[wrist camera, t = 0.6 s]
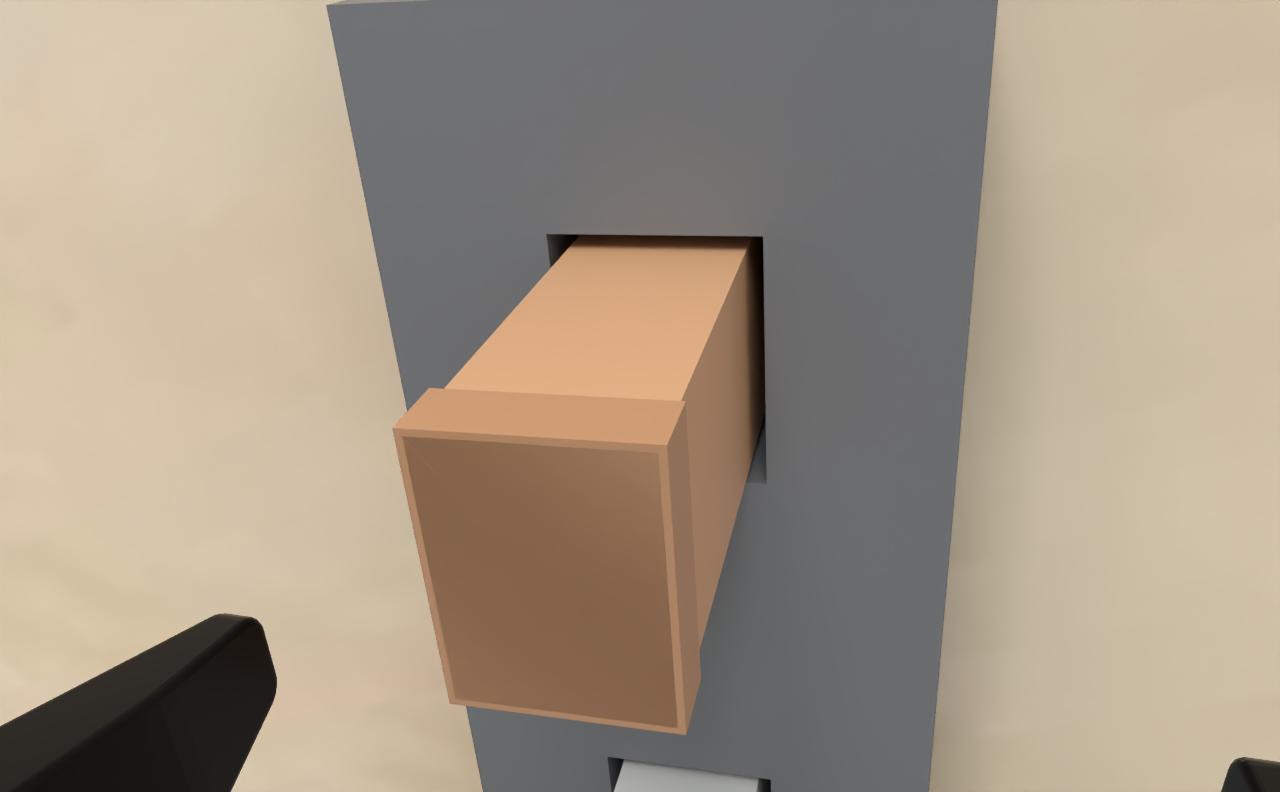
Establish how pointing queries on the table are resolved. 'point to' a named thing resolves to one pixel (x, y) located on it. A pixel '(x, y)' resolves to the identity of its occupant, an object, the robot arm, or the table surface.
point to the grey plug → (683, 779)
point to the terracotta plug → (592, 480)
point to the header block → (793, 316)
